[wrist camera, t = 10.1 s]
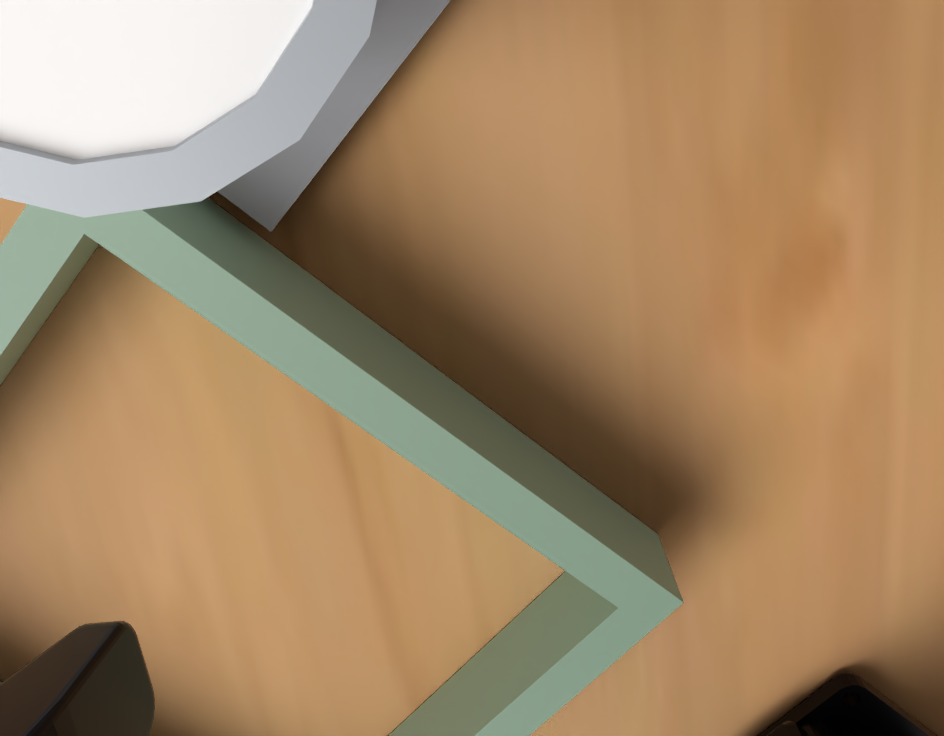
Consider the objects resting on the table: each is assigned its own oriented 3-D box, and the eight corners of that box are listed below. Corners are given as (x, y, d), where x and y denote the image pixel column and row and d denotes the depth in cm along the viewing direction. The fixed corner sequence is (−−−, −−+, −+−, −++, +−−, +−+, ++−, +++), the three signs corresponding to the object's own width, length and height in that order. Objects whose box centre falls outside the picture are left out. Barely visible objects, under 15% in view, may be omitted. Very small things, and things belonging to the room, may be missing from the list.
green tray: (658, 534, 21) (683, 602, 19) (295, 862, 26) (280, 949, 24) (112, 126, 17) (61, 151, 15) (-210, 607, 21) (-287, 683, 19)
